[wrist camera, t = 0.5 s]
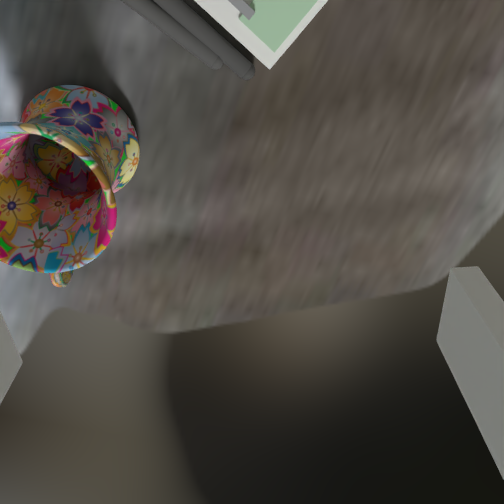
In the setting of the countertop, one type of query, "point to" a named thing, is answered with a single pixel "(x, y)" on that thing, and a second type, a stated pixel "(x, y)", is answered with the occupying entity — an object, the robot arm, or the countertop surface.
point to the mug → (63, 180)
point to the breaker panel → (263, 23)
